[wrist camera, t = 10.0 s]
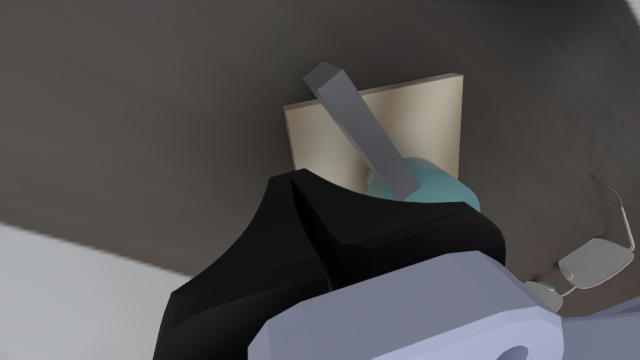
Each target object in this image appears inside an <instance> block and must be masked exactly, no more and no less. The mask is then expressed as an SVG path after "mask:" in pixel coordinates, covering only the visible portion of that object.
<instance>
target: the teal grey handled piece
mask: <svg viewBox="0 0 640 360" xmlns="http://www.w3.org/2000/svg"><path fill="white" fill-rule="evenodd" d="M302 79H303V80H304V81H305V83H306V84H307V85H308V87H309V88H310V89H311V91H312V92H313V93H314V95H315V96H316V97H317V99H318V100H319V101H320V103H321V104H322V105H323V107H324V108H325V109H326V111H327V112H328V113H329V115H330V116H331V117H332V119H333V120H334V121H335V123H336V124H337V125H338V127H339V128H340V129H341V131H342V132H343V133H344V135H345V136H346V137H347V139H348V140H349V141H350V143H351V144H352V145H353V147H354V148H355V149H356V151H357V152H358V153H359V155H360V156H361V157H362V159H363V160H364V161H365V163H366V164H367V165H368V167H369V168H370V169H371V171H372V172H373V173H374V175H375V177H374V178H373V180H372V181H371V183H370V184H369V186H368V188H367V191H366V194H365V195H369V196H373V197H377V198H383V199H389V200H396V201H406V202H425V203H436V202H462V201H464V202H466V203H467V204H469V205H470V206H472V207H473V208H474V209H476V210H477V211H478V212H480V205H479V201H478V199H477V197H476V195H475V194H474V192H473V191H472V190H471V189H469V188H468V187H466V186H465V185H464V184H462V183H461V182H459V181H458V180H456V179H455V178H454V177H452V176H451V175H449V174H448V173H446V172H445V171H444V170H442V169H441V168H439V167H438V166H436V165H435V164H433V163H432V162H431V161H429V160H426V159H423V158H418V157H409V158H402V157H401V155H400V154H399V152H398V151H397V149H396V148H395V146H394V145H393V143H392V142H391V140H390V139H389V137H388V136H387V134H386V133H385V131H384V130H383V128H382V127H381V125H380V124H379V122H378V121H377V119H376V118H375V116H374V115H373V113H372V112H371V110H370V109H369V107H368V106H367V104H366V103H365V101H364V100H363V98H362V97H361V95H360V94H359V92H358V91H357V89H356V88H355V86H354V85H353V83H352V82H351V80H350V79H349V77H348V76H347V74H346V73H345V71H344V70H343V69H342V68H339V67H337V66H335V65H332V64H330V63H327V62H325V61H322V62H321V63H320V64H319V65H317V66H316V67H315V68H314V69H313V70H311V71H310V72H309V73H308V74H307V75H305V76H304V77H303V78H302Z"/></svg>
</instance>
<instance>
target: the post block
mask: <svg viewBox="0 0 640 360" xmlns="http://www.w3.org/2000/svg"><path fill="white" fill-rule="evenodd" d="M462 91H463V75H460V74H456V73H447V74H442V75H437V76H432V77H427V78H422V79H417V80H412V81H407V82H402V83H397V84H392V85H386V86H381V87H376V88H371V89H366V90H361V91H358V92H359V94H360V95H361V97H362V98H363V100H364V101H365V103H366V104H367V106H368V107H369V109H370V110H371V112H372V113H373V115H374V116H375V118H376V119H377V121H378V122H379V124H380V125H381V127H382V128H383V130H384V131H385V133H386V134H387V136H388V137H389V139H390V140H391V142H392V143H393V145H394V146H395V148H396V149H397V151H398V152H399V154H400V155H401V157H402V158H409V157H418V158H423V159H426V160H429V161H431V162H432V163H433V164H435V165H436V166H438V167H439V168H441V169H442V170H444V171H445V172H446V173H448V174H449V175H451V176H452V177H454V178H455V179H456V180H458V165H459V147H460V128H461V110H462ZM283 110H284V115H285V120H286V126H287V131H288V136H289V141H290V147H291V152H292V157H293V162H294V168H295V170H299V169H303V168H306V169H308V170H309V171H311V172H313V173H315V174H316V175H318V176H320V177H322V178H324V179H326V180H328V181H330V182H332V183H334V184H336V185H339V186H341V187H344V188H346V189H349V190H351V191H354V192H357V193H361V194H366V191H367V188H368V186H369V184H370V183H371V181H372V180H373V178H374V177H375V175H374V173H373V172H372V171H371V169H370V168H369V167H368V165H367V164H366V163H365V161H364V160H363V159H362V157H361V156H360V155H359V153H358V152H357V151H356V149H355V148H354V147H353V145H352V144H351V143H350V141H349V140H348V139H347V137H346V136H345V135H344V133H343V132H342V131H341V129H340V128H339V127H338V125H337V124H336V123H335V121H334V120H333V119H332V117H331V116H330V115H329V113H328V112H327V111H326V109H325V108H324V107H323V105H322V104H321V103H320V101H319V100H318V99H316V100H310V101H305V102H300V103H295V104H290V105H285V106H283Z"/></svg>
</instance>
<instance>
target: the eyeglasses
mask: <svg viewBox="0 0 640 360" xmlns="http://www.w3.org/2000/svg"><path fill="white" fill-rule="evenodd" d="M593 177H594V178H595V179H596V180H597V181H599V182H600V183H602V184H603V185H604V186H606V187H607V188H609V189H610V190H611V191H612V192H614V193H615V195H616V196H617V198H618V201H619V204H620V207H621V209H622V213H623V217H624V220H625V224H626V228H627V232H628V235H629V239H630V243H631V247H630V248H628V249H626V248H624V247H622V246H620V245H618V244H615V243H612V242H610V241H607V240H604V239H600V238H593V239H592V240H590V241H589V242H587V243H586V244H584V245H583V246H581V247H580V248H578V249H577V250H575V251H574V252H572V253H571V254H569V255H567V256H566V257H564V258H563V259H561V260H560V261H558V265H559V268H560V270H561V272H562V274H563V275H564V277H565V278H566V279H568V280H569V282H570V283H571V284H573V285H574V287H573V288H572V289H570V290H569V291H567V292H566V293H564V294H562V295H559V294H558V293H557V292H555V291H554V290H555V288H554V287H553V286H551V285H549V284H547V283H544V282H539V283H536V282H532V281H527V282H526V283H524V285H525V286H526V287H527V288H528V289H530V290H531V291H532V292H533V293H534V294H535V295H536V296H537V297H539V298H540V299H541V300H542V301H543V302H544V303H545V304H546V305H548V306H549V307H550V308H551V309H552V310H553V311H554V312H556V311H557V310H559V308H560V307H561V306H562V303H563V299H562V297H563V296H565V295H567V294H568V293H570V292H571V291H573V290H574V289H575V288H576V287H578V288H583V289H586V288H591V287H594V286H596V285H599V284H601V283H603V282H604V281H606V280H608V279H609V278H611V277H612V276H614V275H615V274H617V273H618V272H619V271H621V270H622V269H623V268H624V267H626V266H627V265H628V264H629V263H630V262H631V261H632V260H633V258H634V254H633V253H632V252H631V251H632V250H634V248H635V247H634V241H633V238H632V235H631V232H630V229H629V225H628V222H627V219H626V216H625V212H624V209H623V204H622V202H621V199H620V197H619V195H618V193H617V192H616V191H614V190H613V189H612V188H611V187H609V186H608V185H607V184H606V183H604V182H603V181H601V180H600V179H599V178H597V177H596V176H595V175H594V176H593Z"/></svg>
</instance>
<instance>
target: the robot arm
mask: <svg viewBox="0 0 640 360" xmlns="http://www.w3.org/2000/svg"><path fill="white" fill-rule="evenodd" d="M505 259H506V245H505V239H504V237H503V235H502V232H501V230H500V229H499V228H498V227H497V226H496V225H495V224H494V223H493V222H492V221H490V220H489V219H488V218H486V217H485V216H484V215H482V214H481V213H480V212H478V211H477V210H476V209H474V208H473V207H472V206H470V205H469V204H467V203H466V202H464V201H462V202H436V203H425V202H406V201H396V200H389V199H383V198H377V197H373V196H369V195H365V194H361V193H357V192H354V191H351V190H349V189H346V188H344V187H341V186H339V185H336V184H334V183H332V182H330V181H328V180H326V179H324V178H322V177H320V176H318V175H316V174H315V173H313V172H311V171H309V170H308V169H306V168H303V169H299V170H295V171H292V172H288V173H285V174H281V175H277V176H274V177H270V179H269V181H268V185H267V188H266V191H265V194H264V197H263V199H262V201H261V204H260V206H259V208H258V210H257V212H256V214H255V216H254V217H253V219H252V221H251V223H250V224H249V226H248V227H247V228H246V230H245V231H244V232H243V234H242V235H241V236H240V237H239V238H238V239H237V240H236V242H235V243H234V244H233V245H232V246H231V247H230V248H229V249H228V250H227V251H226V252H225V253H224V254H223V255H222V256H221V257H220V258H219V259H217V260H216V261H215V262H214V263H213V264H211V265H210V266H209V267H208V268H207V269H205V270H204V271H203V272H201V273H200V274H199V275H197V276H196V277H194V278H193V279H191V280H190V281H189V282H187V283H186V284H184V285H183V286H181V287H180V288H178V289H177V290H175V291H173V292H172V293H171V295H170V298H169V301H168V304H167V306H166V309H165V312H164V315H163V319H162V322H161V325H160V330H159V334H158V338H157V343H156V347H155V352H154V356H153V360H640V296H639V297H637V298H634V299H631V300H629V301H626V302H624V303H621V304H618V305H616V306H613V307H610V308H608V309H605V310H602V311H600V312H597V313H595V314H592V315H589V316H580V317H569V318H561V317H560V316H559V315H558V314H557V313H555V312H554V311H553V310H552V309H551V308H550V307H549V306H548V305H546V304H545V303H544V302H543V301H542V300H541V299H540V298H539V297H537V296H536V295H535V294H534V293H533V292H532V291H531V290H530V289H528V288H527V287H526V286H525V285H524V284H523V283H522V282H521V281H519V280H518V279H517V278H516V277H515V276H514V275H513V274H512V273H510V272H509V271H508V270H507V269H506V268H505ZM329 289H330V290H329Z"/></svg>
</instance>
